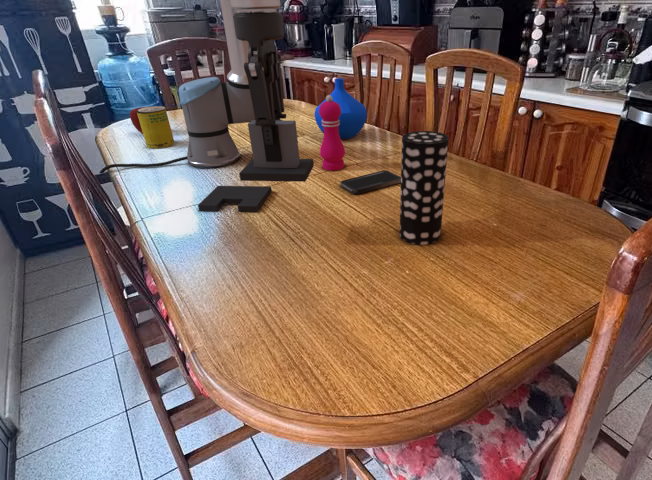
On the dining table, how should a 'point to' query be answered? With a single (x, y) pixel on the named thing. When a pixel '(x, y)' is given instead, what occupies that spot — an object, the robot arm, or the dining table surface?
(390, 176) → the phone
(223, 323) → the dining table surface
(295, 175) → the tab pad
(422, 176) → the spotted tube
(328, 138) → the pepper mill
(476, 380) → the dining table surface
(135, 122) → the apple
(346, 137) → the vase
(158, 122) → the yellow can
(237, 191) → the notch pad
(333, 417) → the dining table surface
